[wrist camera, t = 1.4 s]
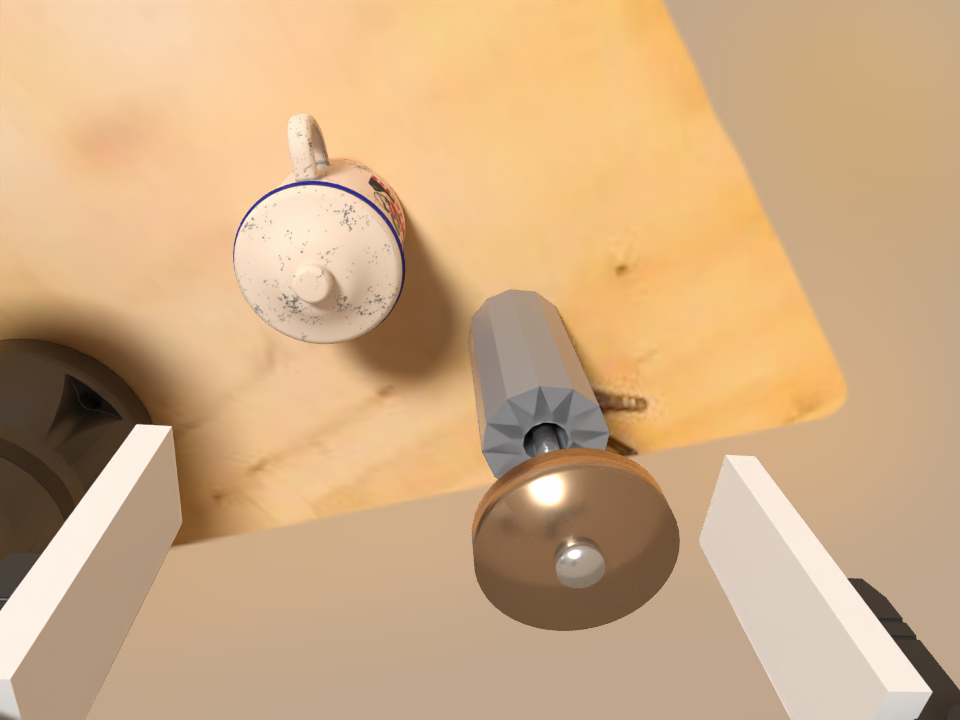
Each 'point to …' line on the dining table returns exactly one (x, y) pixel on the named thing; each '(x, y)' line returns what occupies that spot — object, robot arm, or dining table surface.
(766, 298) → the dining table surface
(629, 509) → the plunger
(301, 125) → the teacup with lid
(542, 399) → the cylinder
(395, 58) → the dining table surface
